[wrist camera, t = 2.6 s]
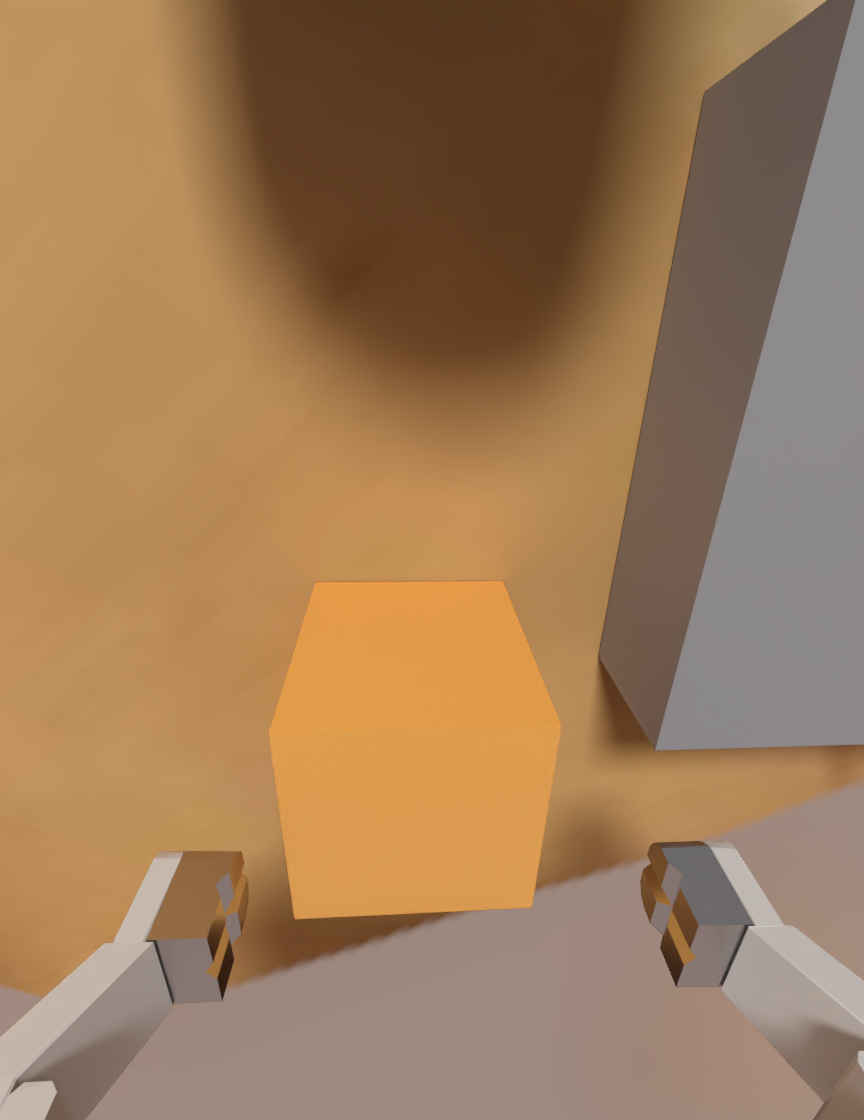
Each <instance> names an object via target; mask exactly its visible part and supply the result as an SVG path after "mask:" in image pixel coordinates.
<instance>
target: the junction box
mask: <svg viewBox="0 0 864 1120" xmlns="http://www.w3.org/2000/svg"><path fill="white" fill-rule="evenodd" d="M599 658H600V660H601V661H602V663H603V665H604V666H605V668H606V670H607V671H608V673H609V675H610V676H611V678H612V680H613V681H614V683H615V685H616V686H617V688H618V690H619V691H620V693H621V695H622V696H623V698H624V700H625V701H626V703H627V705H628V706H629V708H630V710H631V711H632V713H633V715H634V716H635V718H636V720H637V721H638V723H639V725H640V726H641V728H642V730H643V731H644V733H645V735H646V736H647V738H648V740H649V741H650V743H651V745H652V746H653V748H654V750H690V749H724V748H759V747H793V746H828V745H862V744H864V0H827V1H826V2H824V3H823V4H822V5H820V6H819V7H818V8H816V9H815V10H814V11H812V12H811V13H810V14H808V15H807V16H806V17H804V18H803V19H801V20H800V21H799V22H797V23H796V24H795V25H793V26H792V27H791V28H789V29H788V30H787V31H785V32H784V33H783V34H781V35H780V36H779V37H777V38H776V39H775V40H773V41H772V42H771V43H769V44H768V45H767V46H765V47H764V48H762V49H761V50H760V51H758V52H757V53H756V54H754V55H753V56H752V57H750V58H749V59H748V60H746V61H745V62H744V63H742V64H741V65H740V66H738V67H737V68H736V69H734V70H733V71H732V72H730V73H729V74H728V75H726V76H725V77H723V78H722V79H721V80H719V81H718V82H717V83H715V84H714V85H713V86H711V87H710V88H709V89H707V90H706V91H705V94H704V99H703V105H702V110H701V115H700V120H699V126H698V131H697V136H696V142H695V147H694V152H693V158H692V163H691V168H690V173H689V179H688V184H687V189H686V195H685V200H684V205H683V211H682V216H681V221H680V226H679V232H678V237H677V242H676V248H675V253H674V258H673V264H672V269H671V274H670V279H669V285H668V290H667V295H666V301H665V306H664V311H663V317H662V322H661V327H660V333H659V338H658V343H657V348H656V354H655V359H654V364H653V370H652V375H651V380H650V386H649V391H648V396H647V401H646V407H645V412H644V417H643V423H642V428H641V433H640V439H639V444H638V449H637V454H636V460H635V465H634V470H633V476H632V481H631V486H630V492H629V497H628V502H627V507H626V513H625V518H624V523H623V529H622V534H621V539H620V545H619V550H618V555H617V560H616V566H615V571H614V576H613V582H612V587H611V592H610V598H609V603H608V608H607V614H606V619H605V624H604V629H603V635H602V640H601V645H600V651H599Z"/></svg>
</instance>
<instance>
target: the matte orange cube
mask: <svg viewBox="0 0 864 1120" xmlns="http://www.w3.org/2000/svg"><path fill="white" fill-rule="evenodd" d="M561 727H562V726H561V724H560V721H559V719H558V716H557V714H556V711H555V709H554V706H553V704H552V701H551V699H550V696H549V694H548V692H547V689H546V687H545V684H544V682H543V679H542V677H541V674H540V672H539V669H538V667H537V665H536V662H535V660H534V657H533V655H532V652H531V650H530V647H529V645H528V642H527V640H526V638H525V635H524V633H523V630H522V628H521V625H520V623H519V620H518V618H517V615H516V613H515V610H514V608H513V606H512V603H511V601H510V598H509V596H508V593H507V591H506V588H505V586H504V583H503V581H459V582H315V586H314V589H313V592H312V595H311V599H310V602H309V605H308V608H307V612H306V615H305V618H304V621H303V624H302V628H301V631H300V634H299V637H298V641H297V644H296V647H295V650H294V654H293V657H292V660H291V663H290V666H289V670H288V673H287V676H286V679H285V683H284V686H283V689H282V692H281V696H280V699H279V702H278V705H277V709H276V712H275V715H274V718H273V721H272V725H271V728H270V731H269V739H270V746H271V754H272V761H273V768H274V775H275V783H276V790H277V797H278V804H279V812H280V819H281V826H282V833H283V840H284V848H285V855H286V862H287V869H288V877H289V884H290V891H291V898H292V906H293V913H294V919H309V918H330V917H350V916H371V915H391V914H412V913H432V912H453V911H473V910H494V909H512V908H513V909H514V908H531V907H532V903H533V897H534V891H535V885H536V879H537V873H538V867H539V860H540V854H541V848H542V842H543V836H544V830H545V824H546V818H547V812H548V806H549V800H550V793H551V787H552V781H553V775H554V769H555V763H556V757H557V751H558V745H559V739H560V733H561Z"/></svg>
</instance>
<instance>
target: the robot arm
mask: <svg viewBox="0 0 864 1120" xmlns="http://www.w3.org/2000/svg"><path fill="white" fill-rule="evenodd" d="M647 855H648V858H649V860H650V862H651V864H650V865H648V866H647V867H646V868H645V869H644V870H643V872H642V877H641V882H640V883H641V896H642V900H643V904H644V908H645V911H646V913H647V916H648V918H649V921H650V923H651V924H652V925H653V926H654V927H655V928H656V929H657V930H658V931H659V932H660V933H661V934H663V937H662V942H661V947H660V948H661V951H662V953H663V956H664V958H665V961H666V963H667V965H668V968H669V970H670V972H671V975H672V977H673V980H674V982H675V985H676V987H722V989H721V990H722V991H723V992H724V993H725V994H726V996H727V997H728V998H729V999H730V1000H731V1001H732V1002H733V1003H734V1004H735V1005H736V1006H737V1008H738V1009H739V1010H740V1011H741V1012H742V1013H743V1014H744V1015H745V1016H746V1018H747V1019H748V1020H749V1021H750V1022H751V1023H752V1024H753V1025H754V1026H755V1027H756V1028H757V1030H758V1031H759V1032H760V1033H761V1034H762V1035H763V1036H764V1037H765V1038H766V1039H767V1041H768V1042H769V1043H770V1044H771V1045H772V1046H773V1047H774V1048H775V1049H776V1050H777V1051H778V1053H779V1054H780V1055H781V1056H782V1057H783V1058H784V1059H785V1060H786V1061H787V1062H788V1064H789V1065H790V1066H791V1067H792V1068H793V1069H794V1070H795V1071H796V1072H797V1073H798V1074H799V1075H800V1077H801V1078H802V1079H803V1080H804V1081H805V1082H806V1083H807V1084H808V1085H809V1087H810V1088H811V1089H812V1090H813V1091H814V1092H815V1093H816V1094H817V1095H818V1096H819V1097H820V1099H821V1100H822V1101H823V1102H824V1104H823V1105H822V1107H821V1108H820V1110H819V1111H818V1113H817V1114H816V1116H815V1117H814V1119H813V1120H864V981H863V980H862V979H860V978H859V977H858V976H857V975H855V974H854V973H853V972H851V971H850V970H849V969H848V968H846V967H845V966H844V965H842V964H841V963H840V962H839V961H837V960H836V959H835V958H833V957H832V956H831V955H830V954H828V953H827V952H826V951H824V950H823V949H822V948H821V947H819V946H818V945H817V944H816V943H814V942H813V941H812V940H810V939H809V938H808V937H806V936H805V935H804V934H803V933H801V932H800V931H799V930H797V929H796V928H795V927H794V926H792V925H784V924H783V922H782V921H781V919H780V918H779V916H778V914H777V913H776V911H775V910H774V908H773V907H772V905H771V903H770V902H769V900H768V899H767V897H766V896H765V894H764V893H763V891H762V889H761V888H760V886H759V885H758V883H757V882H756V880H755V878H754V877H753V875H752V874H751V872H750V871H749V869H748V867H747V866H746V864H745V863H744V862H743V860H742V858H741V856H740V855H739V853H738V852H737V850H736V849H735V847H734V846H733V845H732V844H731V843H729V842H727V841H712V842H701V841H686V842H658V843H653V844H652V845H651V846H650V847H649V851H648V854H647ZM243 865H244V860H243V855H242V851H160V853H159V854H158V855H157V856H156V857H155V858H154V860H153V861H152V863H151V865H150V867H149V869H148V871H147V873H146V875H145V877H144V880H143V882H142V884H141V886H140V888H139V890H138V892H137V894H136V896H135V898H134V900H133V902H132V904H131V906H130V908H129V910H128V912H127V914H126V917H125V919H124V921H123V923H122V925H121V927H120V929H119V931H118V933H117V935H116V937H115V939H114V941H113V942H112V943H104V944H103V945H102V946H101V947H99V948H98V949H97V950H96V951H95V952H94V953H93V954H92V955H91V956H89V957H88V958H87V959H86V960H85V961H84V962H83V963H82V964H81V965H80V966H78V967H77V968H76V969H75V970H74V971H73V972H72V973H71V974H70V975H68V976H67V977H66V978H65V979H64V980H63V981H62V982H61V983H60V984H58V985H57V986H56V987H55V988H54V989H53V990H52V991H51V992H50V993H49V994H47V995H46V996H45V997H44V998H43V999H42V1000H41V1001H40V1002H39V1003H37V1004H36V1005H35V1006H34V1007H33V1008H32V1009H31V1010H30V1011H29V1012H28V1013H26V1014H25V1015H24V1016H23V1017H22V1018H21V1019H20V1020H19V1021H18V1022H17V1023H15V1024H14V1025H13V1026H12V1027H11V1028H10V1029H9V1030H8V1031H6V1032H5V1033H4V1034H3V1035H2V1036H1V1037H0V1120H85V1119H86V1118H87V1117H88V1116H89V1114H90V1113H91V1112H92V1111H93V1109H94V1108H95V1107H96V1105H97V1104H98V1103H99V1102H100V1100H101V1099H102V1098H103V1097H104V1095H105V1094H106V1093H107V1092H108V1090H109V1089H110V1088H111V1086H112V1085H113V1084H114V1083H115V1081H116V1080H117V1079H118V1078H119V1076H120V1075H121V1074H122V1072H123V1071H124V1070H125V1069H126V1067H127V1066H128V1065H129V1064H130V1062H131V1061H132V1060H133V1059H134V1057H135V1056H136V1055H137V1053H138V1052H139V1051H140V1050H141V1048H142V1047H143V1046H144V1045H145V1043H146V1042H147V1041H148V1040H149V1038H150V1037H151V1036H152V1034H153V1033H154V1032H155V1031H156V1029H157V1028H158V1027H159V1025H160V1024H161V1023H162V1022H163V1020H164V1019H165V1018H166V1017H167V1015H168V1014H169V1013H170V1012H171V1010H172V1009H173V1004H185V1003H200V1002H217V1001H222V1000H223V997H224V993H225V990H226V986H227V983H228V979H229V976H230V972H231V969H232V965H233V962H234V957H233V952H232V947H231V944H232V943H233V942H234V941H235V940H236V939H237V938H238V936H239V935H240V934H241V933H242V929H243V925H244V921H245V918H246V912H247V905H248V882H247V878H246V877H245V876H244V875H242V874H241V872H242V868H243Z"/></svg>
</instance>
